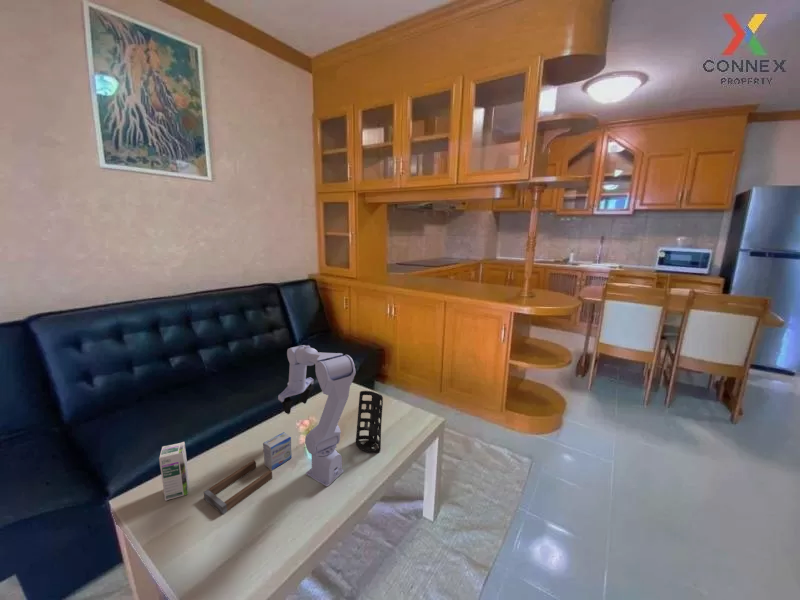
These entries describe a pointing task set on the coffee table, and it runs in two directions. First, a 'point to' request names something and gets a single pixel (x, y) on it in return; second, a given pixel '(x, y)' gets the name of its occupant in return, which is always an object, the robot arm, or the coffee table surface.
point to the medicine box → (277, 450)
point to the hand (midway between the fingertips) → (295, 407)
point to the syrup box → (174, 470)
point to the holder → (373, 420)
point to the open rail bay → (241, 495)
